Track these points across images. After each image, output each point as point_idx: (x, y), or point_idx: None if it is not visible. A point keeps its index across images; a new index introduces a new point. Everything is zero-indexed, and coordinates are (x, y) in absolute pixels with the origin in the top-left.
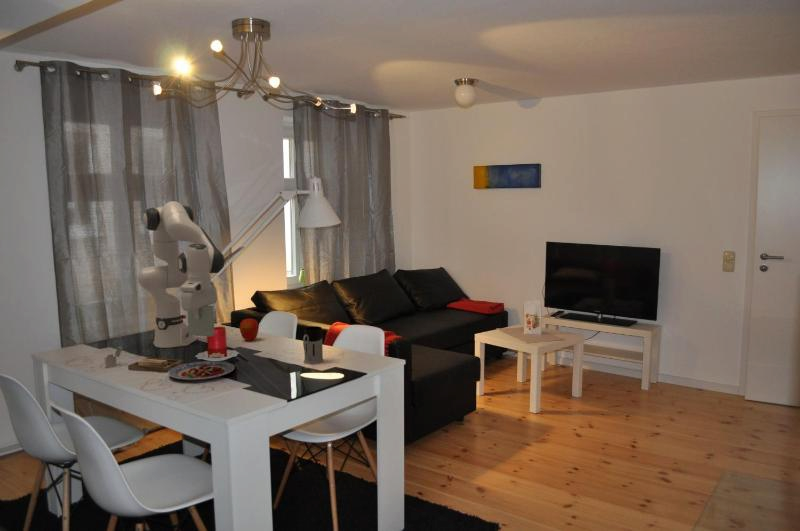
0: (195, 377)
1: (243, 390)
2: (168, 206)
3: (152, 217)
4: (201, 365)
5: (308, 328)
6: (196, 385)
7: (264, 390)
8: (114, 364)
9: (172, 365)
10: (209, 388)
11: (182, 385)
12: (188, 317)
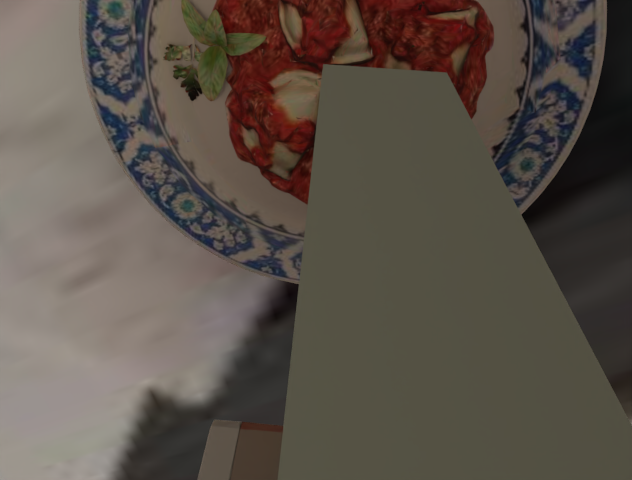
0: (228, 82)
1: (122, 400)
2: None
3: None
4: (440, 28)
5: None
6: (95, 167)
7: (155, 461)
8: None
9: None
10: (80, 259)
11: (55, 78)
12: (304, 237)
